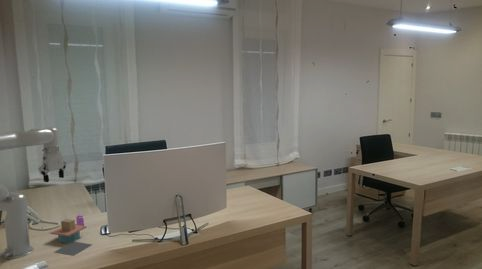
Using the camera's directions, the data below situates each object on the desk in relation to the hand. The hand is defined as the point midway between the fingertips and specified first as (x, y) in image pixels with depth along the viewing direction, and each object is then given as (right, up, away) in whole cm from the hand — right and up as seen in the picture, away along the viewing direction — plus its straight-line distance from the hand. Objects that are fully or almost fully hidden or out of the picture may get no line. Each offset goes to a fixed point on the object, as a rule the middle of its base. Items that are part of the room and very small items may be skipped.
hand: (54, 179), depth 191 cm
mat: (+18, -34, -15) cm, 42 cm away
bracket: (+4, -31, +12) cm, 34 cm away
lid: (+10, -28, -3) cm, 30 cm away
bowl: (+10, -33, -3) cm, 34 cm away
